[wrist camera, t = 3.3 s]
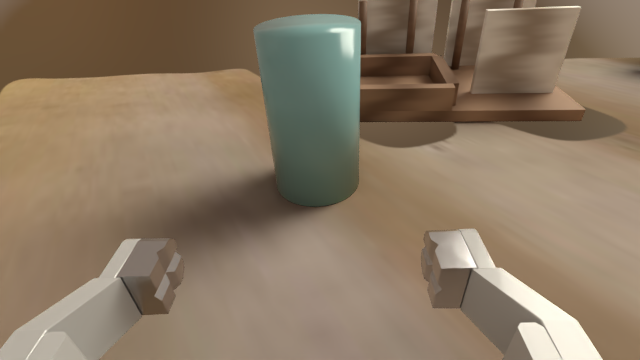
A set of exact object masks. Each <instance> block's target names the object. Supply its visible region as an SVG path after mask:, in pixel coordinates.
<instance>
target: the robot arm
mask: <svg viewBox="0 0 640 360" xmlns="http://www.w3.org/2000/svg"><path fill="white" fill-rule="evenodd" d="M423 240H424V243H425V247H424V248H423V249H422V252H421V268H422V273H423V277H424V279H425V280H426V281H428V282H429V284H428V290H427V291H428V294H429V297H430V301H431V304H432V307H433V308H461V311H462V312H463V313H464V314H465V315H466V316H467V317H468V318H469V319H470V320H471V321H472V322H473V323H474V324H475V325H476V326H477V327H478V328H479V329H480V330H481V331H482V333H483V334H484V335H485V336H486V337H487V338H488V339H489V340H490V341H491V342H492V343H493V344H494V345H495V346H496V347H497V348H498V349H499V350H500V351H501V352H502V353H503V354H504V357H503V359H502V360H602V358H601V357H600V355H599V354H598V352H597V350H596V349H595V347H594V346H593V344H592V343H591V341H590V340H589V338H588V337H587V335H586V333H585V332H584V330H583V329H582V327H581V326H580V324H579V323H578V321H577V320H575V319H574V318H573V317H571V316H570V315H568V314H567V313H565V312H564V311H562V310H561V309H560V308H558V307H557V306H555V305H554V304H552V303H551V302H550V301H548V300H547V299H545V298H544V297H542V296H541V295H539V294H538V293H537V292H535V291H534V290H532V289H531V288H529V287H528V286H526V285H525V284H524V283H522V282H521V281H519V280H518V279H516V278H515V277H513V276H512V275H511V274H509V273H508V272H506V271H505V270H503V269H502V268H496V267H495V265H494V263H493V261H492V259H491V257H490V255H489V253H488V251H487V249H486V247H485V246H484V244H483V242H482V240H481V238H480V236H479V234H478V232H477V231H476V230H475V229H458V230H431V231H426V232H425V234H424V239H423ZM177 247H178V246H177V244H176V242H175V239H171V238H142V239H126V240H124V241H123V242H122V243H121V245H120V246H119V248H118V249H117V251H116V252H115V254H114V255H113V257H112V258H111V260H110V261H109V263H108V264H107V266H106V267H105V269H104V270H103V272H102V273H101V275H100V276H99V278H93V279H92V280H90V281H89V282H87V283H86V284H84V285H83V286H81V287H80V288H78V289H77V290H75V291H74V292H72V293H71V294H69V295H68V296H66V297H65V298H63V299H62V300H60V301H59V302H57V303H56V304H54V305H53V306H51V307H50V308H48V309H47V310H45V311H44V312H42V313H41V314H39V315H38V316H36V317H35V318H33V319H32V320H30V321H29V322H27V323H26V324H24V325H23V326H21V327H20V328H18V329H17V330H15V331H14V332H13V334H12V335H11V336H10V338H9V339H8V340H7V341H6V343H5V344H4V345H3V347H2V348H1V349H0V360H99V359H100V358H101V357H102V356H103V355H104V354H105V353H106V352H107V351H108V350H109V349H110V348H111V347H112V346H113V345H114V344H115V343H116V342H117V341H118V340H119V339H120V338H121V337H122V336H123V335H124V334H125V333H126V332H127V331H128V330H129V329H130V328H131V327H132V326H133V325H134V324H135V323H136V322H137V321H138V320H139V319H140V318H141V317H142V315H154V314H168V313H169V311H170V309H171V306H172V304H173V301H174V299H175V293H174V291H173V290H174V289H176V288H177V287H178V286H179V285H180V284H181V282H182V279H183V275H184V261H183V259H182V256H181V255H179V254H178V253H176V252H175V251H176V249H177Z"/></svg>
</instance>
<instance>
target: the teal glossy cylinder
mask: <svg viewBox="0 0 640 360" xmlns="http://www.w3.org/2000/svg"><path fill="white" fill-rule="evenodd" d="M254 36H255V43H256V49H257V56H258V62H259V69H260V76H261V83H262V89H263V96H264V103H265V109H266V116H267V122H268V129H269V136H270V142H271V149H272V156H273V162H274V169H275V176H276V182H277V188H278V191H279V193H280V194H281V195H282V196H283V197H284V198H285V199H287V200H288V201H290V202H292V203H295V204H298V205H303V206H312V207H317V206H327V205H332V204H335V203H338V202H341V201H343V200H345V199H346V198H348V197H349V196H351V195H352V194H353V193H354V192H355V191H356V189H357V187H358V184H359V132H360V131H359V129H360V128H359V127H360V58H361V21H360V20H358V19H356V18H354V17H350V16H344V15H334V14H311V15H297V16H289V17H282V18H277V19H273V20H269V21H266V22H263V23H260V24H258V25H257V26H255V28H254Z"/></svg>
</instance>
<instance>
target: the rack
mask: <svg viewBox="0 0 640 360" xmlns="http://www.w3.org/2000/svg"><path fill="white" fill-rule="evenodd" d="M536 1H537V0H452V4H451V10H450V17H449V24H448V31H447V38H446V45H445V52H444V58H443V57H442V56H437V55H436V54H435V53H432V44H433V36H434V28H435V20H436V13H437V4H438V0H358V20H360V21H361V58H360V122H466V121H581V120H582V117H583V115H584V113H585V109H584V108H583V107H582V106H581V105H579V104H578V103H577V102H576V101H574V100H573V99H572V98H571V97H569V96H568V95H567V94H566V93H564V92H563V91H562V90H561V89H559V88H558V87H557V86H556V85H555V84H556V81H557V78H558V75H559V72H560V69H561V66H562V64H563V61H564V58H565V55H566V52H567V49H568V46H569V42H570V40H571V37H572V34H573V31H574V28H575V25H576V22H577V19H578V16H579V13H580V10H581V7H579V6H564V7H539V8H538V7H537V8H535V5H536Z"/></svg>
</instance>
